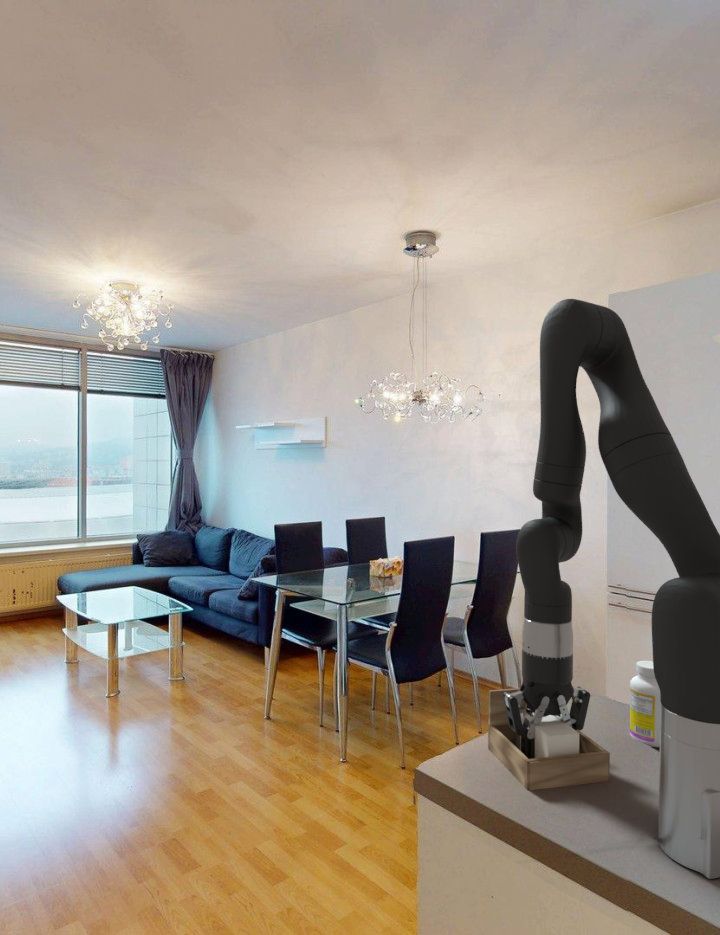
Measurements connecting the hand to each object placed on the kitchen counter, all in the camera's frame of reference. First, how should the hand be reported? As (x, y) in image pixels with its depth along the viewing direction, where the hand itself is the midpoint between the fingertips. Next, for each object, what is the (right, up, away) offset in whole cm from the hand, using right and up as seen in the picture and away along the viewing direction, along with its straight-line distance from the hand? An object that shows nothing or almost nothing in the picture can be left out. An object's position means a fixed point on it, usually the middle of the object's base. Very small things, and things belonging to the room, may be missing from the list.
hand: (545, 758), depth 95 cm
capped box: (0, -1, 0) cm, 1 cm away
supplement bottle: (+21, -2, +10) cm, 23 cm away
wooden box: (0, -1, 0) cm, 1 cm away
